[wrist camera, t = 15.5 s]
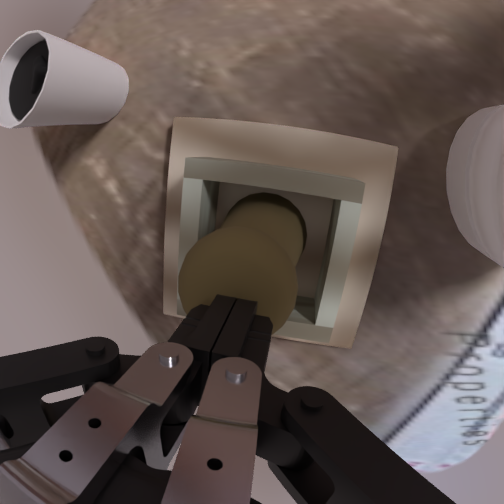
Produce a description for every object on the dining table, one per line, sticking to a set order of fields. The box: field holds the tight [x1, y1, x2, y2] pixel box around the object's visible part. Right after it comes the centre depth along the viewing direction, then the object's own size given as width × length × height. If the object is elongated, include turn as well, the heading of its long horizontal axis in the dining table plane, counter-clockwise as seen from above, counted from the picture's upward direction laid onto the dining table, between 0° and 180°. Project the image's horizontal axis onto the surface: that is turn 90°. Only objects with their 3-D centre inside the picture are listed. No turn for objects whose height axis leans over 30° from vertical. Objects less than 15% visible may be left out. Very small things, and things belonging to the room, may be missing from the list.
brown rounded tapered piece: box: [178, 192, 307, 336], centre depth 17 cm, size 6×6×11 cm
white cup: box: [0, 30, 129, 128], centre depth 17 cm, size 7×7×10 cm
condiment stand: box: [163, 117, 399, 349], centre depth 21 cm, size 16×16×5 cm
